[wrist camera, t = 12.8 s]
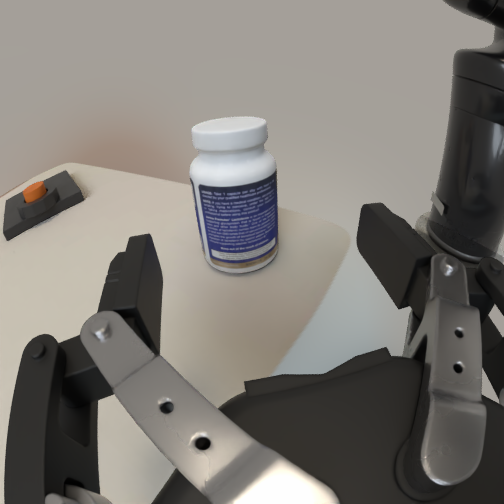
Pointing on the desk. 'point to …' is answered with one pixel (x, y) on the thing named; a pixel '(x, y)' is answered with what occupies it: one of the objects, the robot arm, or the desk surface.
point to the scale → (40, 205)
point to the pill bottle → (235, 193)
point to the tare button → (34, 191)
